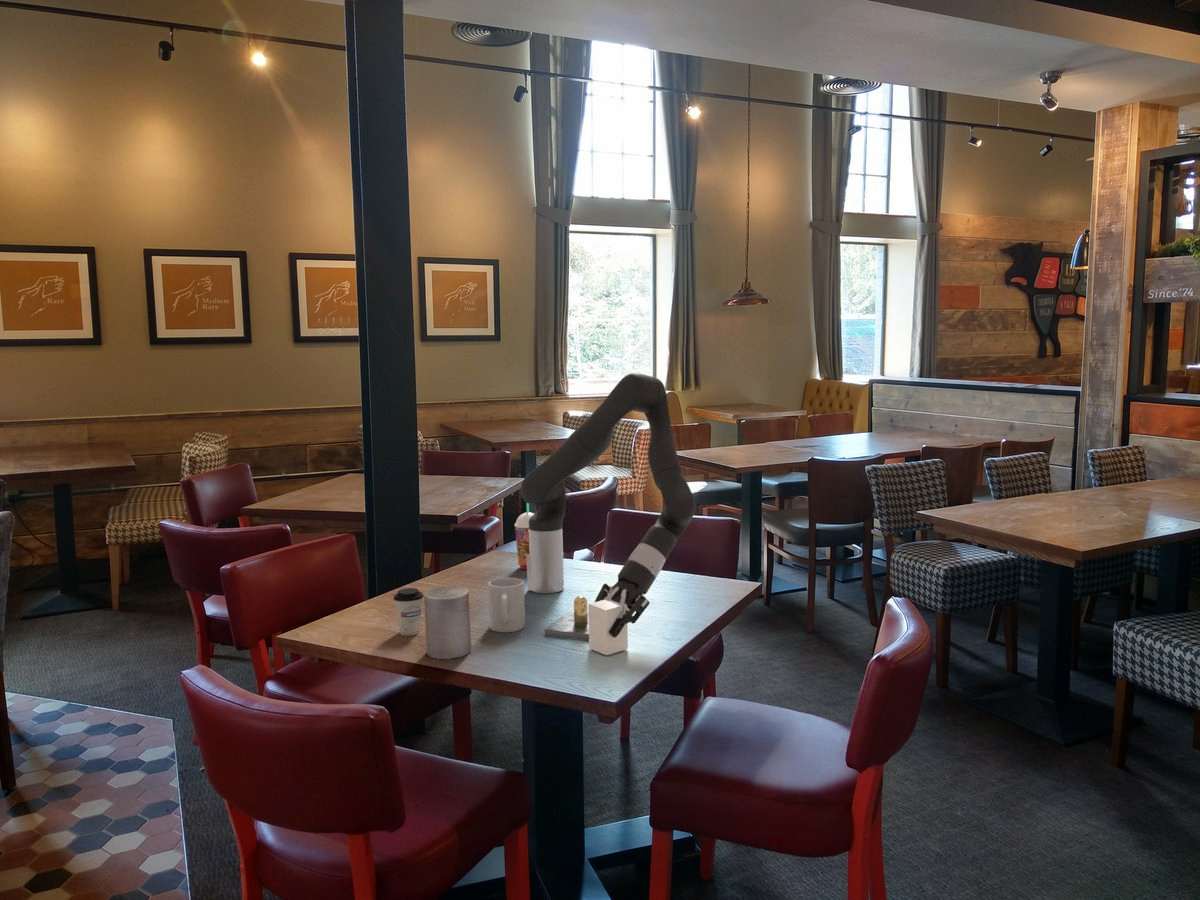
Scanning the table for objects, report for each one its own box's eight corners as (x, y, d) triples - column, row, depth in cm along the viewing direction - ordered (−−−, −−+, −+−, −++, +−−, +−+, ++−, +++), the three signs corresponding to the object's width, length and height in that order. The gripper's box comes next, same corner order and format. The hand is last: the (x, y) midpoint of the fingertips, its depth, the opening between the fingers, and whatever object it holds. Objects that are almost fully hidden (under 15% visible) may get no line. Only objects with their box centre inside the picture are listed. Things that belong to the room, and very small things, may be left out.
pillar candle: (439, 643, 190) (436, 578, 189) (479, 646, 188) (475, 581, 186) (418, 658, 181) (414, 591, 179) (459, 662, 178) (456, 593, 177)
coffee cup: (393, 629, 200) (391, 588, 199) (422, 625, 203) (420, 585, 202) (396, 638, 194) (394, 596, 193) (427, 634, 196) (425, 593, 195)
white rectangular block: (589, 648, 184) (588, 603, 183) (610, 641, 188) (609, 598, 187) (606, 655, 180) (605, 610, 178) (627, 648, 183) (627, 604, 182)
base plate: (544, 635, 194) (543, 601, 193) (566, 618, 206) (565, 586, 205) (596, 641, 189) (596, 606, 189) (616, 623, 202) (615, 591, 201)
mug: (491, 621, 205) (489, 577, 204) (526, 620, 205) (525, 576, 204) (486, 638, 193) (484, 591, 192) (523, 637, 193) (522, 590, 192)
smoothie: (510, 568, 256) (508, 504, 254) (530, 563, 262) (528, 500, 260) (528, 572, 251) (526, 506, 248) (549, 567, 257) (547, 503, 254)
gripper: (612, 553, 192) (571, 614, 186) (655, 564, 181) (613, 630, 175) (630, 571, 196) (591, 632, 190) (673, 584, 185) (633, 649, 179)
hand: (602, 631), depth 182 cm, fingers closed on white rectangular block, 6 cm apart
